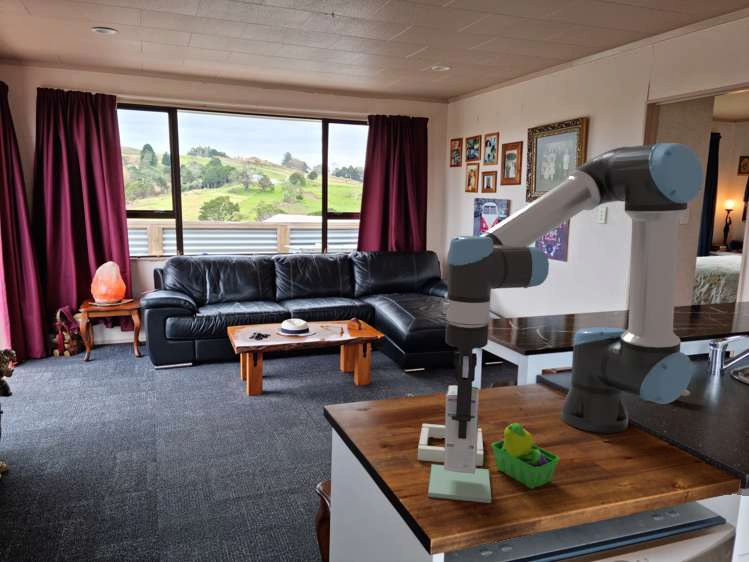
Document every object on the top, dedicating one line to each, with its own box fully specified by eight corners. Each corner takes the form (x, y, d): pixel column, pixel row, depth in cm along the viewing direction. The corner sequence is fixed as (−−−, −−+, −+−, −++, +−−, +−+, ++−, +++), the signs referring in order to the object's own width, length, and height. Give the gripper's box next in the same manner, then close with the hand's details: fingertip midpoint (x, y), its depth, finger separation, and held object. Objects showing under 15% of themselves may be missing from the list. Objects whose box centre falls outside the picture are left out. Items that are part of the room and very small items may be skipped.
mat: (488, 473, 109) (488, 469, 109) (491, 503, 98) (491, 498, 98) (431, 468, 111) (431, 464, 111) (428, 496, 100) (428, 492, 100)
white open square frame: (480, 439, 125) (481, 428, 125) (482, 465, 112) (483, 454, 112) (422, 434, 127) (422, 423, 127) (417, 459, 114) (418, 448, 114)
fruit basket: (560, 483, 106) (564, 426, 104) (527, 495, 101) (531, 436, 100) (515, 459, 115) (518, 406, 114) (483, 469, 111) (486, 415, 109)
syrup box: (475, 474, 101) (479, 396, 99) (442, 470, 102) (446, 393, 100) (476, 460, 106) (480, 386, 104) (445, 457, 107) (448, 383, 105)
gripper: (447, 311, 110) (442, 424, 113) (444, 333, 92) (438, 467, 95) (486, 313, 109) (480, 427, 112) (491, 336, 90) (483, 471, 94)
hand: (461, 445), depth 103 cm, fingers closed on syrup box, 6 cm apart
